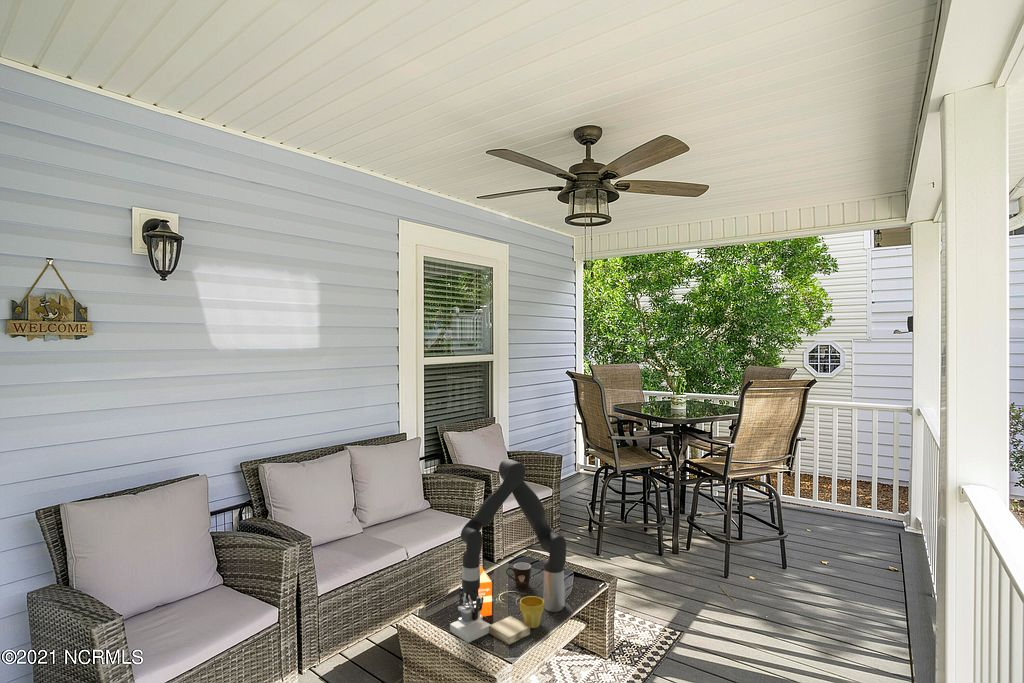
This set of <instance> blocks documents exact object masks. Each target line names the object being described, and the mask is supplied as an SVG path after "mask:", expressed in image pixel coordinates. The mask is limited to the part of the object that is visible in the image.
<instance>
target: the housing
mask: <svg viewBox="0 0 1024 683" xmlns="http://www.w3.org/2000/svg"><path fill="white" fill-rule="evenodd" d="M475 602H476V601H475ZM475 602H473V603H475ZM482 607H483V606H482ZM475 608H476V605H475ZM457 610H458V611H460V617H458V618H457V621H458V622H460V623H462V624H463V625H465V626H467V625H469V624H471V623H474V622H476V621H478V620H480V619H482V620H483V617H484V616H483V615H481V614H480V611H478V619H477V620H475V621H473V620H472V616H473V610H472V606H471V605H470V602H469V603H466V604H464V605H463V604H461V605H458V609H457Z"/></svg>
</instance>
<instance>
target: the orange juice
mask: <svg viewBox="0 0 1024 683" xmlns="http://www.w3.org/2000/svg"><path fill="white" fill-rule="evenodd" d="M478 593H479V596H480V597H483V598H484V600H483V607H482V610H481V611H480V614H481V615H483V617H488V616H492V615H493V614H492V613H493V610H492V609H493V606H492V605H493V581H492V580H491V579H490V577H489V575H488V574H487V572H486V571H485V569H484V568H483V567H482V566H481V564H480V588H479V590H478Z"/></svg>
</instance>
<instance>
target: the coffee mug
mask: <svg viewBox="0 0 1024 683" xmlns="http://www.w3.org/2000/svg"><path fill="white" fill-rule="evenodd" d="M509 570H512V572H513V573H514V577H513V576H511V575H510V574H509V573H508V571H509ZM531 572H532V565H531V564H530V563H527V562H517V563H515V564H513V568H512V567H508V568H506V571H505V573H506V575H507V576H508V577H509V578H510V579H512V580H513V581H514V582H515V588H516V589H518V590H527V589H529V586H530V581H531V580H530V579H531Z"/></svg>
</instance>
